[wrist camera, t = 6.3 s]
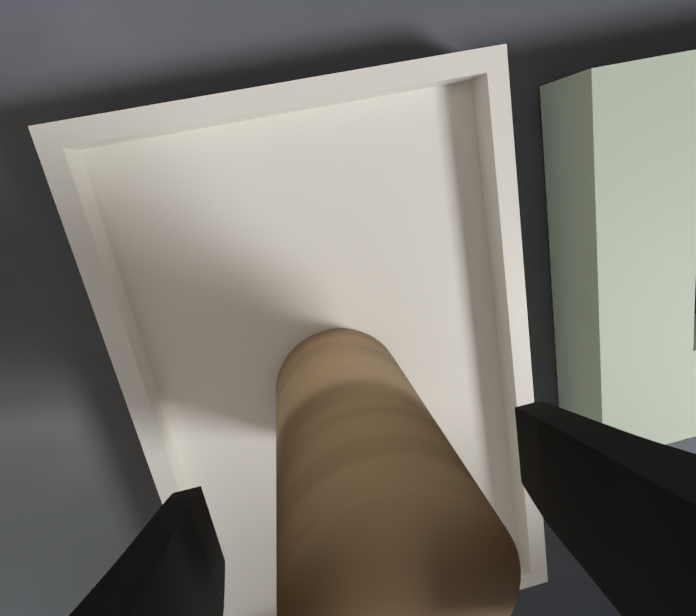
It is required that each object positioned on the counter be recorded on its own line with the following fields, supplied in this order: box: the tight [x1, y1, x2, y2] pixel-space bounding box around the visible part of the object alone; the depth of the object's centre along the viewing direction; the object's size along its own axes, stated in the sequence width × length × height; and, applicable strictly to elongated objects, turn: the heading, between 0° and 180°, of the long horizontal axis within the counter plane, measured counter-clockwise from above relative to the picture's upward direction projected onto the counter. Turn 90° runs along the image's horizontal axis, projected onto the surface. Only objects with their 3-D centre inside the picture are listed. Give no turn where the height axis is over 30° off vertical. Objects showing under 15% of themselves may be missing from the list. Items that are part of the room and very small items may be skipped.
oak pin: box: [276, 328, 521, 616], centre depth 11 cm, size 4×4×8 cm
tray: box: [28, 44, 548, 616], centre depth 15 cm, size 18×12×2 cm, turn 11°
